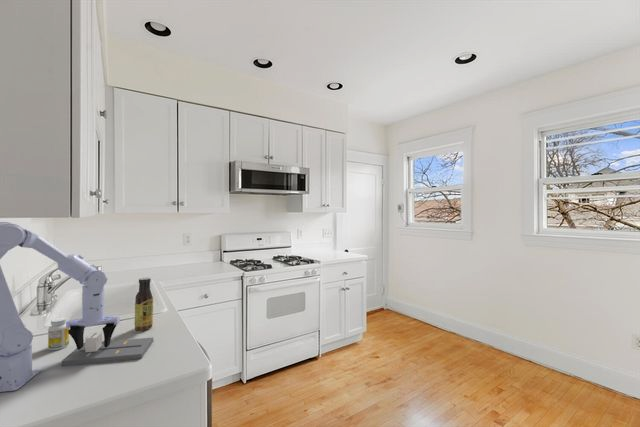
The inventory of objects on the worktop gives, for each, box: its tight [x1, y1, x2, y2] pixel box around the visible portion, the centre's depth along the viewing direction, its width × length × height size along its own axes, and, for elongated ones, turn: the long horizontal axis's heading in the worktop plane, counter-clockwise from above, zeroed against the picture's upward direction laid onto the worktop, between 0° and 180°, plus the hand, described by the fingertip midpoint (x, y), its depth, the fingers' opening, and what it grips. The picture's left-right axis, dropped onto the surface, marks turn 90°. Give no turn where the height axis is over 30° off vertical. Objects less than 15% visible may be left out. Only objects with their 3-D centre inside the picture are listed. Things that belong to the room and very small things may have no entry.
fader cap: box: [84, 332, 103, 352], centre depth 98 cm, size 4×3×5 cm
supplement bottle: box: [47, 316, 70, 351], centre depth 102 cm, size 5×5×10 cm
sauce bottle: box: [134, 277, 154, 332], centre depth 118 cm, size 6×6×20 cm
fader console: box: [60, 336, 154, 367], centre depth 99 cm, size 12×22×2 cm, turn 103°
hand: (93, 347), depth 98 cm, fingers open, 7 cm apart
